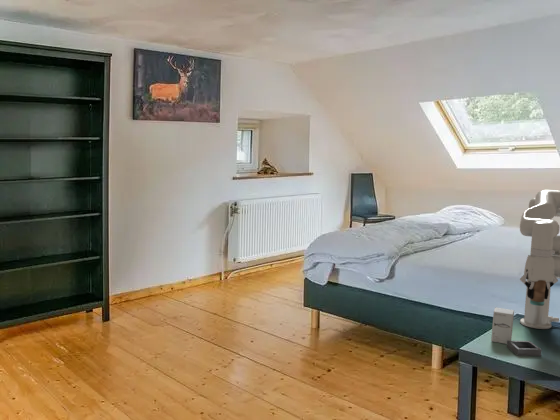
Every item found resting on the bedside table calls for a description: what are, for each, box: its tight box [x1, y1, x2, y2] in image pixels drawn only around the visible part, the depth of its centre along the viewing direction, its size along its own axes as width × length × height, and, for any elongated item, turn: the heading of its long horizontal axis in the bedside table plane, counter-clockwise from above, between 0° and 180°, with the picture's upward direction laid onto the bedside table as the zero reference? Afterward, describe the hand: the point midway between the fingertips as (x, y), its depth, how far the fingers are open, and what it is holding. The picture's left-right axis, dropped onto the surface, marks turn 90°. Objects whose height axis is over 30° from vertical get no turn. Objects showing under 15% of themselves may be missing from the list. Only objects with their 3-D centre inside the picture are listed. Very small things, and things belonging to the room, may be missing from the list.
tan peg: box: [530, 280, 546, 306], centre depth 210 cm, size 5×5×10 cm
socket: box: [506, 340, 542, 357], centre depth 204 cm, size 9×9×2 cm
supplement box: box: [490, 306, 515, 345], centre depth 215 cm, size 7×7×13 cm
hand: (537, 297), depth 210 cm, fingers closed on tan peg, 5 cm apart
